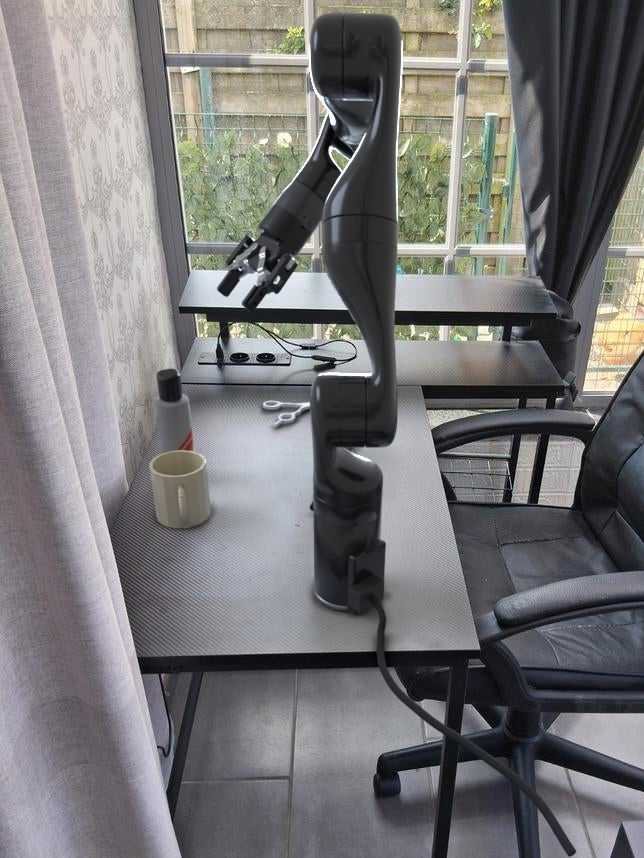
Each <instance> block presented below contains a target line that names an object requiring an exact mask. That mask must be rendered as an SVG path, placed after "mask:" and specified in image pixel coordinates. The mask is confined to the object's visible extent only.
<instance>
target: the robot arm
mask: <svg viewBox="0 0 644 858" xmlns="http://www.w3.org/2000/svg"><path fill="white" fill-rule="evenodd" d="M308 46H309V49H308V50H309V51H308V52H309V53H308V57H309V59H308V60H309V72H310V78H311V82H312V83H311V84H312V86H313V89H314V92H315V94H316V95H317V97H318V98H319V100H320V101H321V102H322V104H323V105H324V107H325V108H326V109H327V113H326V115H325V118H324V119H323V122H322V126H321V128H320V132H319V135H318V137H317V140H316V142H315V145H314V147H313V149H312V152H311V153H310V155H309V157H308V158H307V160H306V161H305V163H304V165H303V166H302V167H301V169H300V170H299V171H298V173H297V174H296V176H294V178H293V180H292V181H291V182H290V184H288V185H287V187H286V188H284V189H283V190H282V191H281V193H280V194H279V196H278V197H277V199H276V200H275V201H274V203H273V205H272V206H271V207H270V208H269V209H268V211H267V212H266V213H265V215H264V216H263V218H262V219H261V221H260V222H259V224H258V227H257V228H258V230H259V232H260V235H259V237H258V238H256V239H254V238H253V237H251V236H250V235H249V234H246V235H245V236H244V237H243V238H242V239H241V240H240V241H239V243H238V245H237V246H236V247H235V249H234V250H233V251H232V252H231V254H229V256H228V257H227V259H226V260H225V264H226V266H228V268H227V270H228V271H227V273H226V274H225V276H224V277H223V279H221V281H220V283H219V284H218V285H217V287H216V291H217V292H218V293H220V294H221V295H222V296H223V297H225V298H229V296H230V295H231V293H232V292H233V291H234V289H235V288H236V287H237V286H238V284H239V282H240V281H241V279H243V278H244V277H246V276H247V275H248V274H250V275H253V274H255V273H257V280H256V284H254V285H253V286H252V288H251V289H250V290H249V291H248V293H247V294H246V295H245V297H244V299H242V301H241V305H242V307H244V309H245V310H247V311H248V312H250V313H253V312H254V311H256V309H257V308H258V307H259V305H260V304H261V302H262V301H263V300H264V298H265V297H266V296H267V295H271V293H274V294H275V295H278V294H279V293H280V292H281V291H282V290H283V288H284V286H285V285H286V283H287V282H288V280H289V279H290V278H291V276H292V275H293V273H294V272H295V270H296V269H297V267H298V266H299V263H298V262H297V260H296V259H295V258H296V257H297V256H298V255H299V254H300V252H301V251H302V249H304V247H305V245H306V244H307V243H308V242H309V240H310V238H311V237H312V236H313V235H314V233H315V232H316V230H317V229H318V228H319V227H320V225H321V224H322V226H321V227H322V229H321V230H322V232H321V233H322V235H321V236H322V238H321V239H322V243H321V244H322V246H321V247H322V249H321V257H322V265H323V268H324V272H325V274H326V276H327V277H328V280H329V282H330V283H331V285H332V287H333V289H334V290H335V292H336V294H337V296H338V297H339V298H340V301H342V303H343V305H344V307H345V308H346V309H347V311H348V313H349V314H350V316H351V318H352V320H353V321H354V323H355V325H356V327H357V329H358V331H359V333H360V335H361V337H362V340H363V342H364V345H365V347H366V349H367V353H368V357H369V360H370V364H371V365H370V366H371V372H370V373H363V372H360V373H358V372H323V373H319V374H317V375H316V376H315V378H314V379H313V381H312V383H311V387H310V393H309V402H310V408H309V417H310V430H311V431H310V432H311V441H312V444H311V445H312V462H313V463H312V464H313V465H312V466H313V468H312V470H313V471H312V472H313V473H312V489H313V490H312V497H313V500H312V502H313V511H312V512H313V514H312V515H313V570H314V571H313V579H314V580H313V581H314V582H313V595H314V597H315V599H316V600H317V601H318V602H319V603H320V604H321V605H322V606H324V607H326V608H329V609H331V610H335V611H340V612H348V613H350V614H351V615H356V614H357V613H359V614H361V613H363V612H364V611H366V610H367V609H369V608H370V607H372V606H373V607H374V609H375V611H376V613H377V616H378V625H377V629H376V630H377V632H376V662H377V666H378V669H379V671H380V673H381V675H382V678H383V680H384V682H385V683H386V685H387V687H388V688H389V690H390V691H391V692H392V693H393V694H394V696H396V698H397V699H398V700H400V701H401V702H402V703H403V704H404V705H405V706H406V707H407V708H408V709H409V710H411V711H412V712H413V713H414V714H415V715H417V716H418V717H419V718H420V719H421V720H423V721H424V722H425V723H427V724H428V725H429V726H430V727H432V728H433V729H435V730H436V731H438V732H439V733H440V734H442V735H444V736H445V737H446V738H449V739H450V740H452V741H453V742H455V743H456V744H458V745H460V746H461V747H463V748H465V749H466V750H467V751H469V752H470V753H471V754H473V755H475V756H476V757H477V758H478V759H480V760H481V761H483V762H484V763H485V764H487V765H488V766H490V767H491V768H492V769H494V770H496V771H497V772H498V773H500V774H501V775H502V776H504V777H505V778H506V779H508V780H509V781H511V783H512V784H514V785H515V787H517V788H518V789H519V790H520V791H522V793H523V794H524V795H525V796H526V797H527V798H528V799H529V800H530V801H531V802H532V803H533V805H534V806H535V807H536V808H537V809H538V811H539V812H540V813H541V815H542V816H543V818H544V819H545V821H546V822H547V824H548V826H549V827H550V829H551V831H552V833H553V834H554V836H555V838H556V840H557V841H558V843H559V844H560V846H561V847H562V849H563V851H564V852H565V854H566V855H567V857H568V858H571V857H573V856H574V855H576V853H577V849H576V848H575V846H574V845H573V844H572V842H571V841H570V839H569V837H568V836H567V834H566V832H565V831H564V829H563V827H562V826H561V824H560V822H559V821H558V819H557V818H556V816H555V815H554V812H553V811H552V810H551V809H550V807H549V806H548V804H547V803H546V802H545V801H544V799H543V798H542V797H541V796H540V795H539V794H538V793H537V791H536V790H534V788H533V787H532V786H531V785H530V784H529V783H528V782H527V781H526V780H524V778H522V777H521V776H520V775H518V773H516V772H515V771H513V770H512V769H511V768H510V767H508V766H507V765H506V764H504V763H502V761H500V760H499V759H497V758H496V757H494V756H493V755H491V754H490V753H489V752H487V751H486V750H484V749H483V748H482V747H480V746H479V745H477V744H475V743H474V742H473V741H471V740H470V739H469V738H467V737H465V736H464V735H462V734H461V733H459V732H458V731H456V730H454V729H452V728H451V727H449V726H447V725H446V724H444V723H443V722H441V721H440V720H438V719H437V718H435V717H434V716H433V715H432V714H430V713H429V712H428V711H427V710H426V709H424V708H423V707H422V706H420V705H419V704H418V703H417V702H415V701H414V700H413V699H412V698H411V697H410V696H409V695H408V694H406V692H405V691H403V690H402V689H401V687H400V686H399V685H398V684H397V683H396V681H395V680H394V678H393V677H392V675H391V673H390V671H389V669H388V665H387V663H386V657H385V638H386V635H385V632H386V628H387V615H386V611H385V609H384V607H383V604H382V603H381V602H380V601H381V600H383V599H384V598H385V569H386V554H387V553H386V552H387V543H386V541H385V540H383V539H381V537H382V536H381V533H382V513H383V512H382V511H383V489H384V488H383V487H384V475H383V471H382V469H381V468H380V466H379V465H378V464H377V462H375V461H374V460H372V459H370V458H368V457H366V456H364V455H361V454H357V453H355V452H354V451H353V452H351V451H349V450H347V449H345V448H344V447H351V448H354V449H355V448H356V449H357V448H359V449H360V448H361V449H364V448H366V449H367V448H368V449H377V448H378V449H381V448H387V447H390V446H391V445H392V444H393V442H394V440H395V438H396V436H397V430H398V418H399V409H398V408H399V407H398V405H399V402H398V379H397V378H398V377H397V376H398V374H397V353H396V351H397V350H396V348H397V347H396V318H395V317H396V315H395V314H396V292H397V291H396V289H397V271H398V270H397V267H398V241H399V240H398V238H399V235H398V233H399V226H398V225H399V222H398V219H399V218H398V217H399V216H398V215H399V214H398V171H397V170H398V168H397V167H398V136H399V121H400V107H401V106H400V105H401V91H402V77H403V76H402V75H403V34H402V30H401V26H400V24H399V21H398V19H397V18H396V16H394V15H392V14H387V13H376V12H371V13H370V12H345V11H344V12H341V11H337V12H336V11H335V12H333V11H332V12H325V13H322V14H321V15H318V16H317V17H316V18H315V20H314V21H313V24H312V25H311V28H310V35H309V45H308ZM333 149H334V150H336V152H338V153H339V154H340V155H342V156H343V157H345V159H347V160H348V161H349V162H348V164H347V165H346V166H345V168H344V169H343V171H342V169H341V168H340V167H339V166H338V164H337V163H336V162H335V160H334V159H333V157H332V154H331V152H332V150H333ZM237 258H238V259H237ZM278 279H279V280H278ZM276 282H277V283H276Z"/></svg>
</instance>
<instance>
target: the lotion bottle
mask: <svg viewBox="0 0 644 858" xmlns="http://www.w3.org/2000/svg"><path fill="white" fill-rule="evenodd" d="M155 377H156V383H157V392H158V395H157V396H156V397H155V398H154V400H153V407H154V408H153V409H154V415H155V423H156V430H157V431H156V432H157V437H158V447H159V455H160V454H162V453H166V452H169V451H177V450H186V451H193V452H195V443H194V434H193V426H192V425H193V424H192V416H191V415H192V414H191V407H190V399H189V396H187V395H186V394H184V393H183V385H182V377H181V372H179V371H178V369H176V368H166V369H165V368H164V369H161V370H159V371H157V373H156V376H155Z"/></svg>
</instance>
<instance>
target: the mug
mask: <svg viewBox="0 0 644 858" xmlns="http://www.w3.org/2000/svg"><path fill="white" fill-rule="evenodd" d="M148 465H149V474H150V481H151V487H152V488H151V489H152V495H153V501H154V502H153V503H154V509H155V516H156V520H157V521H158V523H160V525H162V526H165V527H168V528H171V529H188V528H193V527H196V526H198V525H201V524H203V523H204V522H205V521H207V520H208V519H209V518H210V516H211V500H210V490H209V479H208V470H207V461H206V457H204V456H203V454H201V453H200V452H196V451H194V452H193V451H186V450H177V451H169V452H166V453H162V454H160V453H159V454H158V455H157V456H154V457H153V458H152V459H151V461H150V462H149V464H148Z"/></svg>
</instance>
